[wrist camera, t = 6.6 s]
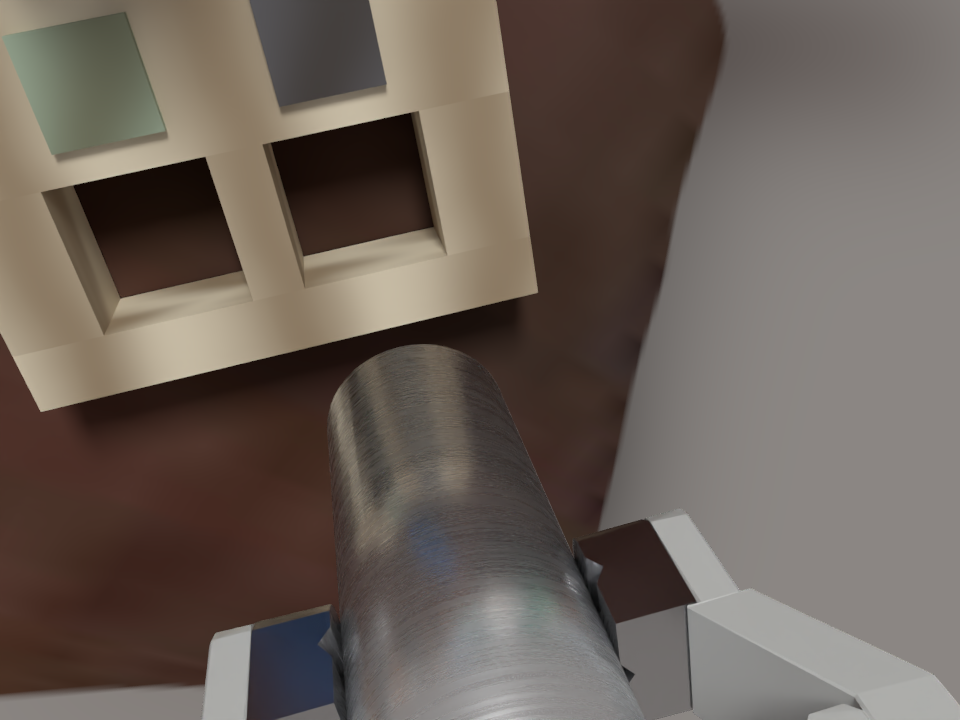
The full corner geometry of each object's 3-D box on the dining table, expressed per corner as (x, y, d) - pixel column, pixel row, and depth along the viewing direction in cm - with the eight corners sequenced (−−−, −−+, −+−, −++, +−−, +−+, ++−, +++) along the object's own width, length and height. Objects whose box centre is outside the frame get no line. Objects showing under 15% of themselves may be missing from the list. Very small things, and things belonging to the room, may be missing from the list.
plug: (351, 515, 16) (424, 1259, 7) (306, 370, 14) (327, 1094, 5) (515, 472, 16) (784, 1134, 7) (489, 325, 14) (792, 944, 6)
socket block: (62, 369, 30) (38, 416, 27) (-108, 15, 24) (-161, 28, 21) (517, 261, 32) (540, 295, 29) (462, -94, 26) (484, -96, 23)
